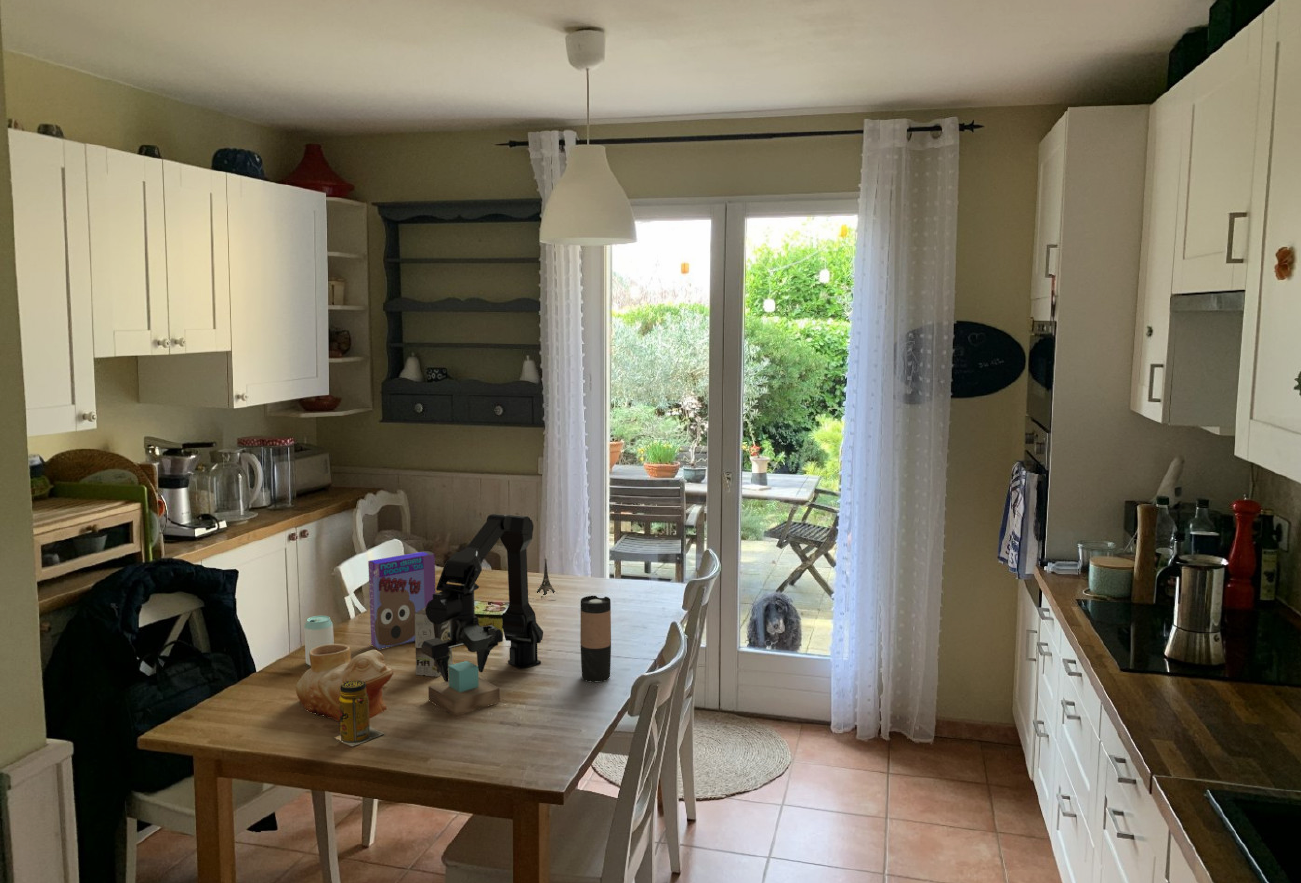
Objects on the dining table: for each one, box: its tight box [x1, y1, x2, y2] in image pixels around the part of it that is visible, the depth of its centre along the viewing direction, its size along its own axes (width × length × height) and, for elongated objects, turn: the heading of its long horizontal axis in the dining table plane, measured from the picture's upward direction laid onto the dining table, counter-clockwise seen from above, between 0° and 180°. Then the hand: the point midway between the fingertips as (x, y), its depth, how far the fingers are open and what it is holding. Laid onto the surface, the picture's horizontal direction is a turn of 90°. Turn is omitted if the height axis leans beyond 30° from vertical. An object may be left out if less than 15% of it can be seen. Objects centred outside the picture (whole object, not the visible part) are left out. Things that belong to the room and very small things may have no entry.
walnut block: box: [427, 676, 501, 717], centre depth 230 cm, size 12×12×4 cm
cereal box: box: [367, 550, 437, 650], centre depth 272 cm, size 17×5×24 cm, turn 131°
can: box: [303, 615, 335, 667], centre depth 255 cm, size 7×7×12 cm
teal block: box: [448, 660, 479, 692], centre depth 230 cm, size 5×5×5 cm
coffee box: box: [414, 607, 453, 678], centre depth 250 cm, size 9×6×16 cm
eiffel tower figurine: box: [536, 557, 556, 595], centre depth 320 cm, size 15×10×13 cm
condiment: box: [337, 680, 386, 747], centre depth 211 cm, size 7×8×12 cm
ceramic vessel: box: [295, 643, 394, 723], centre depth 225 cm, size 14×26×15 cm, turn 58°
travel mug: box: [579, 595, 612, 683], centre depth 245 cm, size 8×8×20 cm
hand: (463, 676), depth 230 cm, fingers open, 9 cm apart
